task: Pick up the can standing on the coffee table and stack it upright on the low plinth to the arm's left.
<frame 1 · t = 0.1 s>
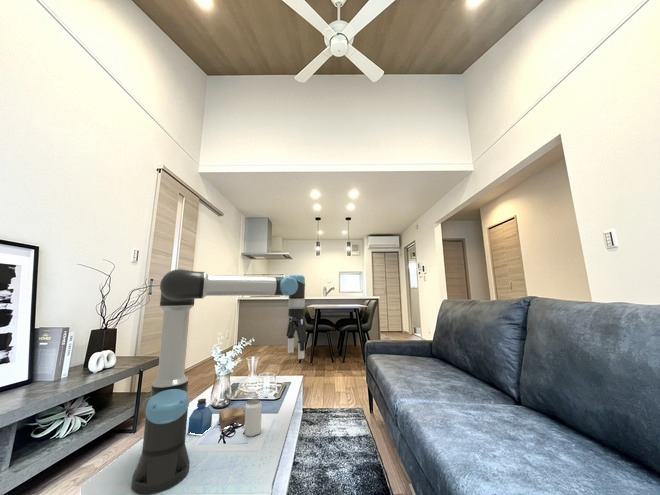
hand: (295, 355, 122), 28 cm above the table, fingers open, 13 cm apart
plinth: (232, 423, 117), on the table
can: (252, 433, 109), on the table
perfume bottle: (199, 432, 110), on the table
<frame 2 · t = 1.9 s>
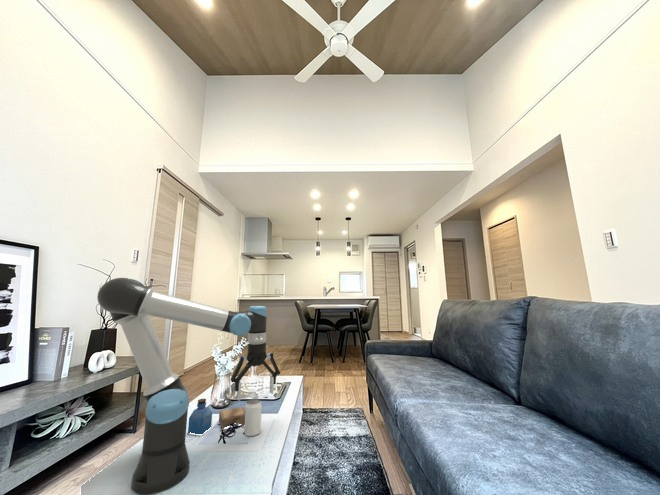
hand: (255, 396, 111), 14 cm above the table, fingers open, 13 cm apart
nothing on the table moved.
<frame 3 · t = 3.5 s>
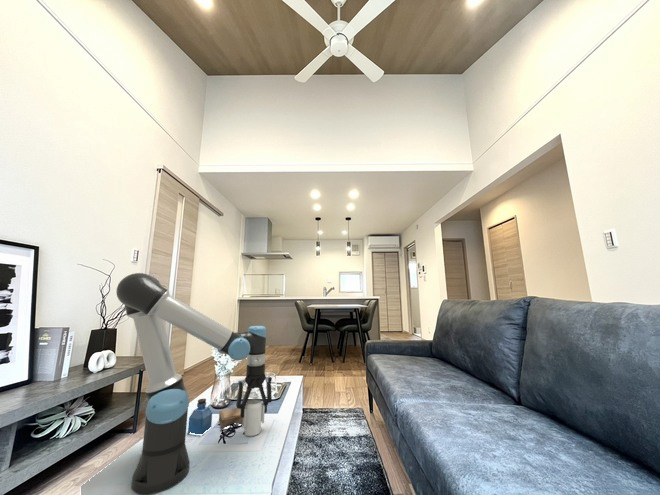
hand: (253, 423, 109), 3 cm above the table, fingers closed on can, 7 cm apart
can: (252, 433, 109), on the table, touching gripper
everything else where it was.
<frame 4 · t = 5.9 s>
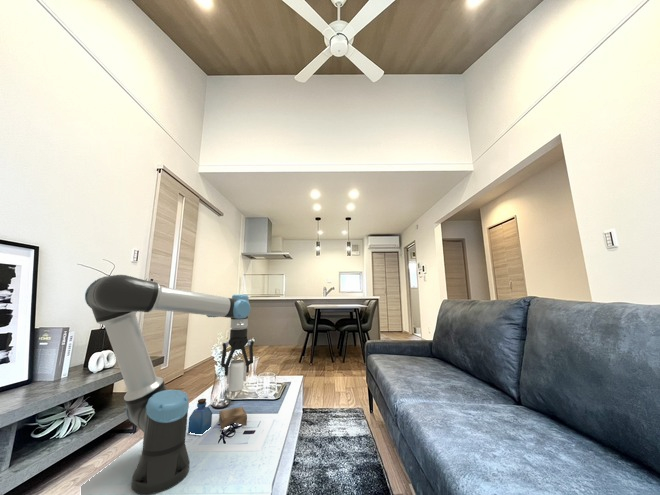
hand: (236, 381, 119), 17 cm above the table, fingers closed on can, 6 cm apart
can: (235, 390, 119), point 13 cm above the table, touching gripper
everything else where it was.
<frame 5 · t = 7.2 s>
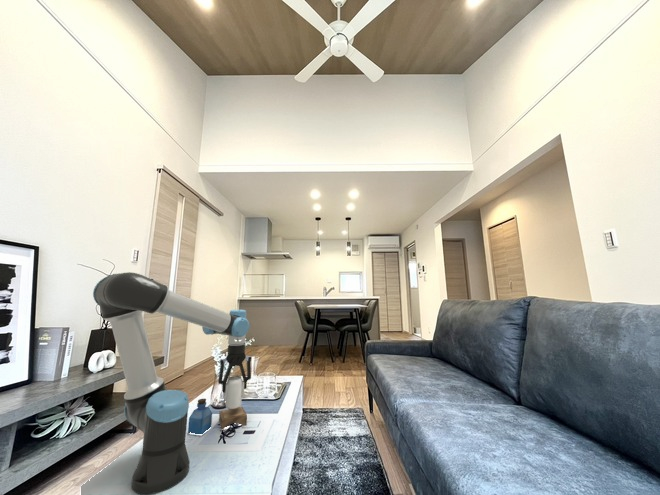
hand: (233, 398, 119), 10 cm above the table, fingers closed on can, 6 cm apart
can: (233, 406, 118), point 6 cm above the table, touching gripper
everything else where it was.
when the fingers open (9 cm above the table, at t = 8.2 s): can stays where it is, resting on plinth.
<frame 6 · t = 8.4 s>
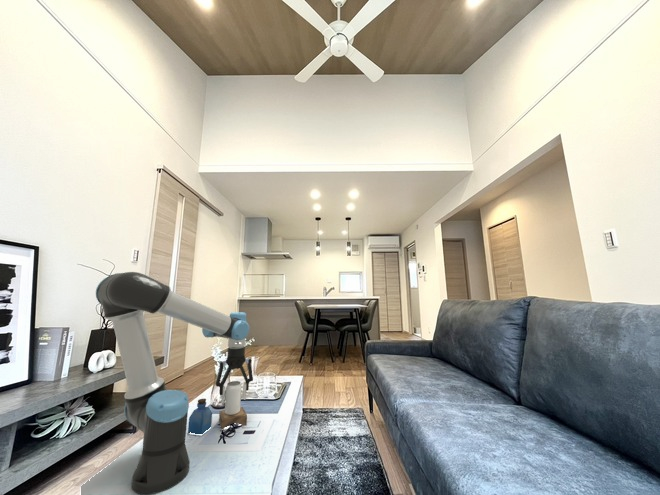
hand: (233, 400, 118), 9 cm above the table, fingers open, 8 cm apart
can: (232, 412, 118), point 4 cm above the table, touching plinth
everything else where it was.
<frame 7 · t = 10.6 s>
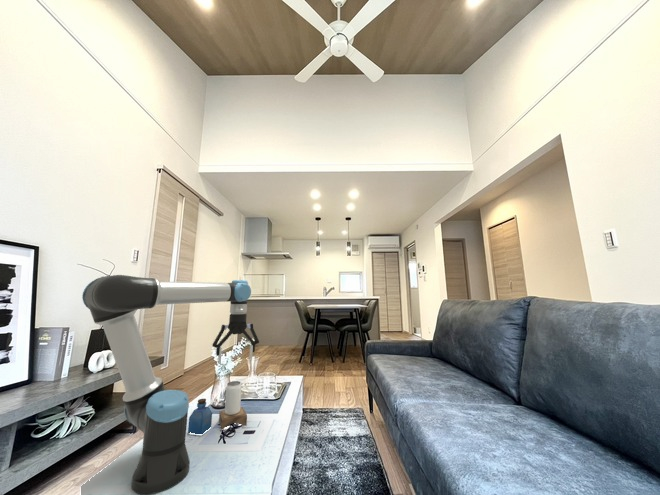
hand: (235, 361, 121), 26 cm above the table, fingers open, 13 cm apart
nothing on the table moved.
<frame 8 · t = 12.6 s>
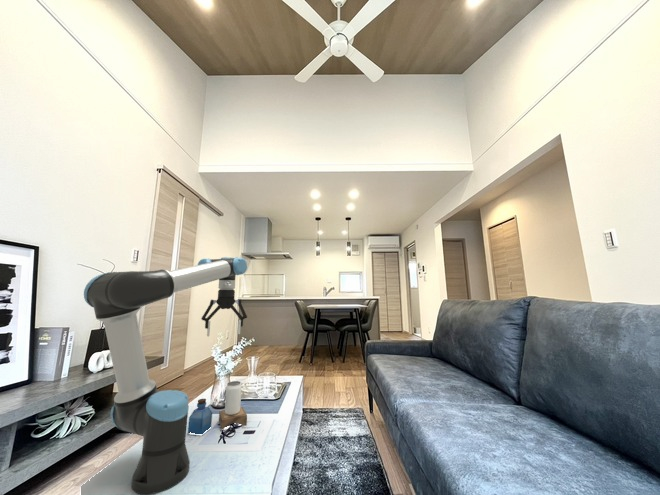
hand: (223, 334, 126), 37 cm above the table, fingers open, 13 cm apart
nothing on the table moved.
at the end: can inside the target area on the plinth (0.3 cm from its centre), point 4.1 cm above the plinth's base; can tilted 0°; the gripper is holding nothing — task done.
